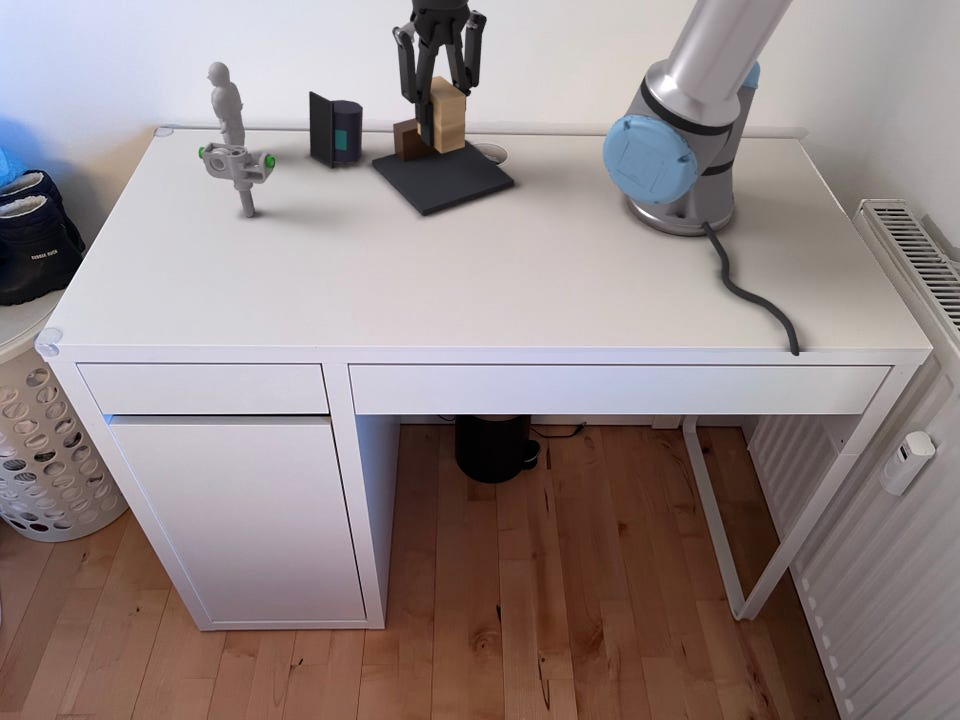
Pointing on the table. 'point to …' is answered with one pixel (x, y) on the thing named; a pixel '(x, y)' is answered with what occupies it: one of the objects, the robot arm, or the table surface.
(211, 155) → the mechanical component
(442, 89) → the pad block
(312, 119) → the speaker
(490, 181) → the mat
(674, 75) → the robot arm
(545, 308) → the table surface
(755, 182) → the table surface
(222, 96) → the figurine
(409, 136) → the dark brown wooden block
